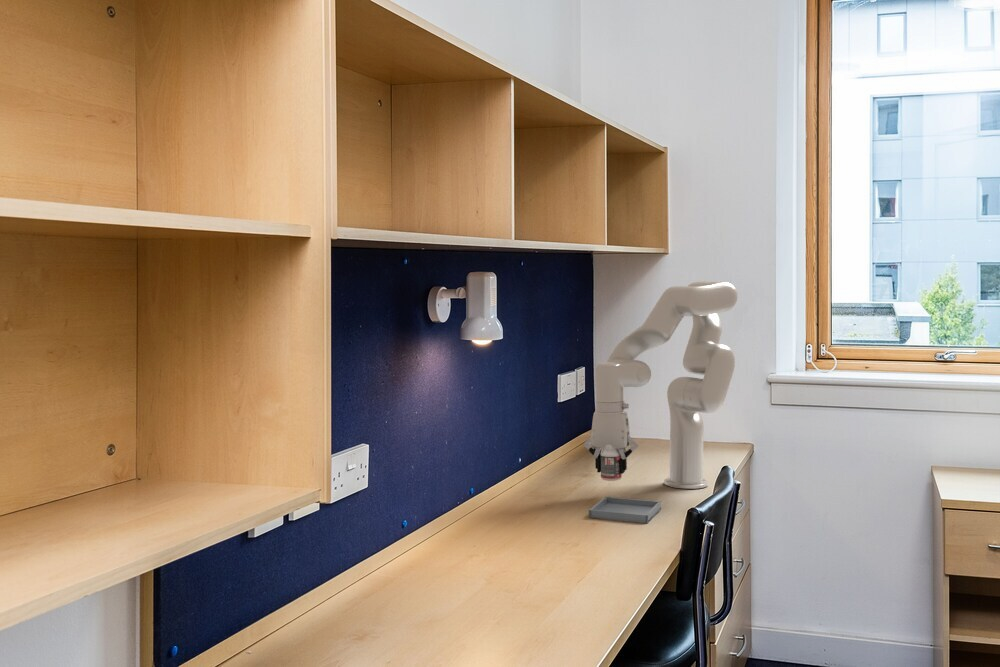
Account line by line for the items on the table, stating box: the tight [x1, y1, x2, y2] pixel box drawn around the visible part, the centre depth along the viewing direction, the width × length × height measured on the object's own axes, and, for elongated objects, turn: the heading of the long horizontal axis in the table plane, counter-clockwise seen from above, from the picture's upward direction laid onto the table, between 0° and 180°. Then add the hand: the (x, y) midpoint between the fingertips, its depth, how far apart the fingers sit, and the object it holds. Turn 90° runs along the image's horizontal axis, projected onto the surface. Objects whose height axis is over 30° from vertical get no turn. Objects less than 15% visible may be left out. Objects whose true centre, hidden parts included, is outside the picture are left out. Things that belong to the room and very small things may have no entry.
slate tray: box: [588, 496, 662, 524], centre depth 249 cm, size 16×15×2 cm
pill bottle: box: [600, 445, 623, 482], centre depth 268 cm, size 6×6×10 cm
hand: (611, 471), depth 268 cm, fingers closed on pill bottle, 5 cm apart
